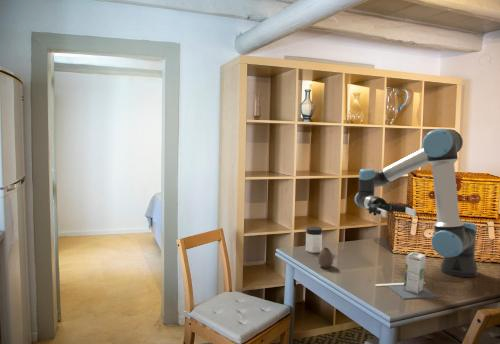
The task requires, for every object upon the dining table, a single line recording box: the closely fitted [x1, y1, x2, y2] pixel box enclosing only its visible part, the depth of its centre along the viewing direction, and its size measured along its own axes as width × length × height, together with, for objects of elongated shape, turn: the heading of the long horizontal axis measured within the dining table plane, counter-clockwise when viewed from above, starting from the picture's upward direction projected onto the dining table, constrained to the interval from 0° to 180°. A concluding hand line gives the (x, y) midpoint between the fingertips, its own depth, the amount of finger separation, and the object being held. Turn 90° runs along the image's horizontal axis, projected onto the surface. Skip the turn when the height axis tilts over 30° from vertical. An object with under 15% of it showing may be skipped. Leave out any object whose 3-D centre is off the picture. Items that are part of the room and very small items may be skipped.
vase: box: [317, 246, 334, 269], centre depth 188 cm, size 7×7×9 cm
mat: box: [386, 285, 438, 300], centre depth 160 cm, size 14×12×1 cm
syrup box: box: [403, 251, 426, 294], centre depth 160 cm, size 6×6×14 cm
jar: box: [305, 225, 323, 254], centre depth 213 cm, size 9×8×12 cm
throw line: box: [374, 281, 426, 287], centre depth 168 cm, size 22×2×1 cm, turn 101°
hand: (400, 213), depth 170 cm, fingers open, 13 cm apart
